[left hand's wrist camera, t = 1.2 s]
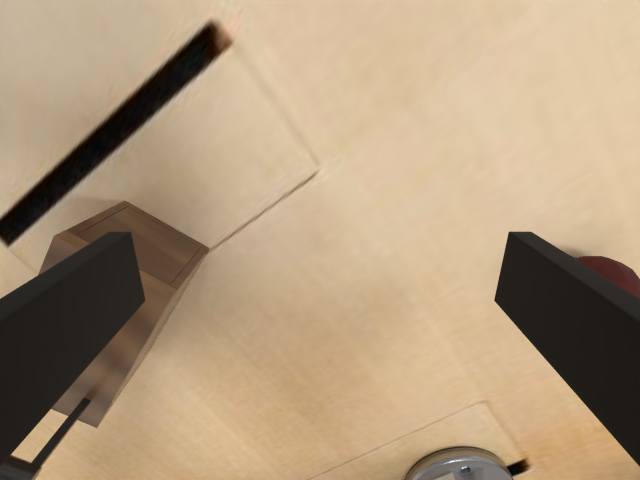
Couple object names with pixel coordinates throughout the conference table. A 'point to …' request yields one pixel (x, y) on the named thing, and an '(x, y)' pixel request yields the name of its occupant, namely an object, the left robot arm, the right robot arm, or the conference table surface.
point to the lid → (96, 362)
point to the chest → (149, 253)
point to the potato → (614, 272)
